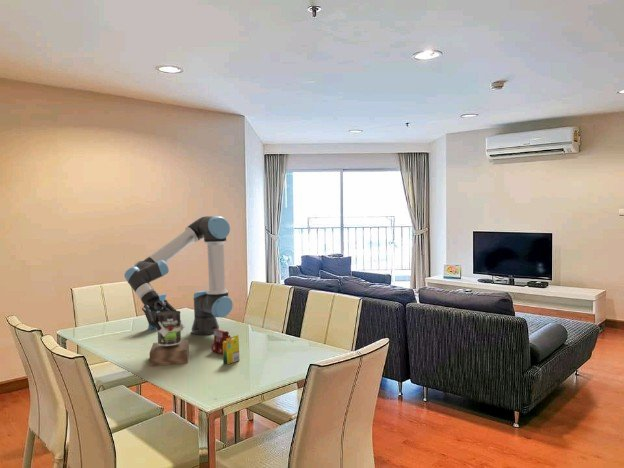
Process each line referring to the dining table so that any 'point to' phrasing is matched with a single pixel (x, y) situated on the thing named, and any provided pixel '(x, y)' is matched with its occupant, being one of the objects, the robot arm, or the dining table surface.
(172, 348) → the walnut block
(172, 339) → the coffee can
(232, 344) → the crayon box
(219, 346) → the toy fire truck
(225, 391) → the dining table surface
